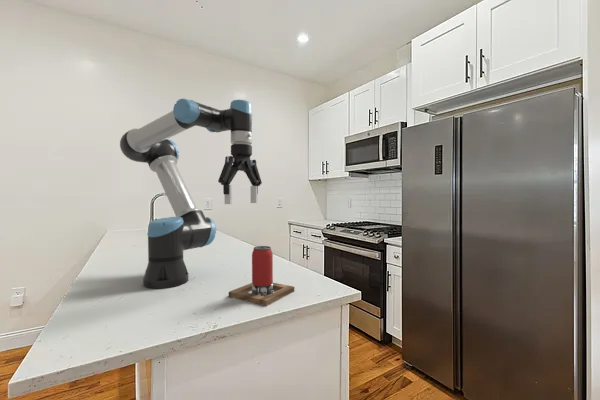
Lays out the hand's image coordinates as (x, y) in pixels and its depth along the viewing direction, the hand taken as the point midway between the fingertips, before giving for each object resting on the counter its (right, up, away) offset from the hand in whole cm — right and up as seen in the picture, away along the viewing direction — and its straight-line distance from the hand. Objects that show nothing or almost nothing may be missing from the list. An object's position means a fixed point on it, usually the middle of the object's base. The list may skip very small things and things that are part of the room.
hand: (241, 203), depth 107 cm
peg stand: (+9, -29, -12) cm, 32 cm away
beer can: (+9, -26, -12) cm, 30 cm away
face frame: (+9, -29, -12) cm, 32 cm away
